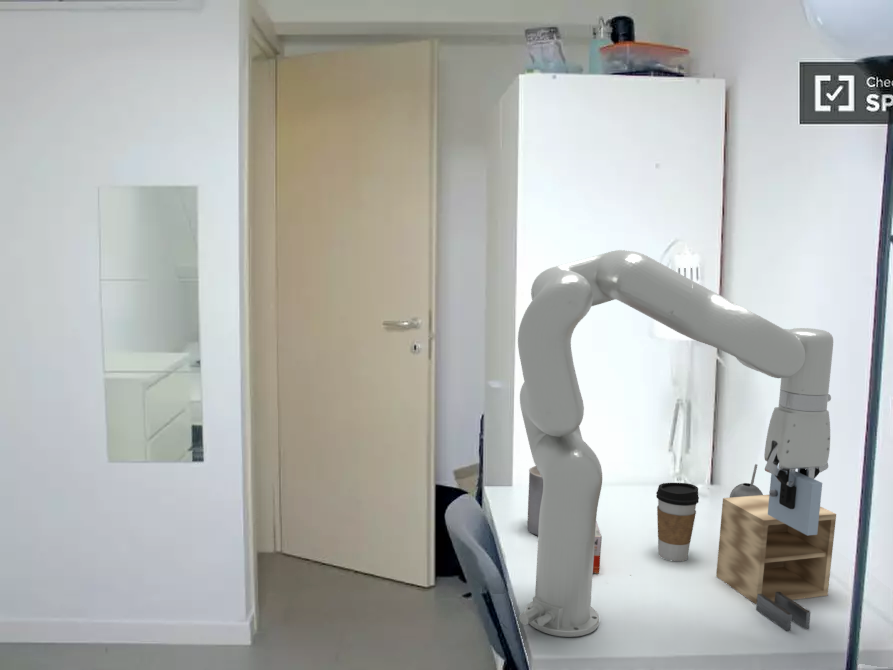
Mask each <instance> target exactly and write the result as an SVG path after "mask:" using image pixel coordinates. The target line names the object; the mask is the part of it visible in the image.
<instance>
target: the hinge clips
mask: <svg viewBox="0 0 893 670" xmlns="http://www.w3.org/2000/svg"><path fill="white" fill-rule="evenodd" d="M755 610H756V611H757V612H759V613H760V614H761V613H762V614H761V615H762V616H764V617H766V618H767V617H768V618H769V619H768V618H767V619H768V620H770V621H771V622H773V624H776V625H777V626H778V627H780V628H781V629H782V630H784V631H785V632H791V631H792V623H793V622H794V623H796V624H797V625H799V626H800V627H801V628H804V630H807V629H810V622H811V613H812V612H811V611H810V610H808V609H807V608H805V607H804V606H802V605H801V604H799V603H797V602H796V601H794V600H791V599H790V598H788V597H787V596H785V595H784V594H782V593H781V592H775V601H774V602H773V601H772V600H770V599H769V598H767V597H766V596H764V595H763V594H758V596H757V604H756V608H755ZM792 621H793V622H792Z"/></svg>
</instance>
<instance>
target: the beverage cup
mask: <svg viewBox="0 0 893 670" xmlns="http://www.w3.org/2000/svg"><path fill="white" fill-rule="evenodd" d="M757 468H758V464H757V463H755V464H754V468H753V472H752V475H751V480H750V483H747V482H744V483H740V484H737V485H736V486H735V487H734V488H732V490H731V491H730V493H729V497H728V498H732V497H745V496H758V495H764V494H763V492H762V490H761V489H760V488H759V487H758V486H757V485H755V483H754V482H755V479H756V478H755V477H756V473H757V470H758V469H757Z"/></svg>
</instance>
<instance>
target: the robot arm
mask: <svg viewBox="0 0 893 670" xmlns="http://www.w3.org/2000/svg"><path fill="white" fill-rule="evenodd" d="M530 291H531V292H530V296H531V297H530V298H531V300H532V301H531V302H530V303H529V304H528V307H527V308H526V309H525V312H524V314H523V316H522V319H521V321H520V324H519V328H518V333H517V347H518V348H517V349H518V356H519V359H520V366H521V371H522V377H523V381H524V382H523V383H522V385H521V388H520V392H519V405H520V411H521V415H522V420H523V423H524V424H523V425H524V428H525V433H526V436H527V441H528V445H529V449H530V453H531V456H532V459H533V463H534V466H536V467H537V469H538V471H539V472H540V474H541V476H542V478H543V494H542V499H541V505H540V514H539V528H538V531H539V533H538V538H537V550H536V551H537V554H536V571H535V572H536V573H535V589H534V590H535V591H534V592H535V593H534V597H532V601H530V602H529V603H528V604H527V605H526V607H525V611H523V612H521V613H520V614H519V616H518V618H519V622H520V623H521V624H522V625H525V626H527V625H530V626H532V628H534V629H536V630H537V631H539V632H542V633H544V634H547V635H551V636H556V637H564V638H565V637H566V638H567V637H568V638H569V637H571V638H574V637H575V638H576V637H581V636H582V637H583V636H586V635H588V634H591V633H592V632H594V631H595V630H596V629H597V628H598V627H599V622H600V617H599V613H598V612H597V610H596V609H595V608H594V607H592V606H591V605H592V604H591V603H592V588H593V587H592V586H593V574H594V573H593V561H594V546H595V528H596V521H597V516H598V515H597V514H598V507H599V502H600V496H601V492H602V487H603V470H602V464H601V462H600V459H599V457H598V456H597V454H596V453H595V451H594V450H593V449H592V448H591V447H590V446H589V445H588V443H586V441H584V439H583V437H582V433H581V432H582V431H581V428H580V425H581V423H582V421H583V419H584V415H585V413H584V412H585V406H584V400H583V397H582V394H581V390H580V386H579V381H578V378H577V374H576V368H575V364H574V359H573V352H572V336H573V334H574V330H575V329H576V327H577V326H578V324H579V323H580V322H581V321H582V320H583V319H584V318H585V316H587V315H588V313H589V311H590V310H591V308H592V307H594V306H599V305H601V304H605V303H607V302H611V301H614V300H616V301H619V302H620V303H623V304H624V305H627V306H628V307H630V308H632V309H634V310H636V311H638V312H639V313H642V314H644V315H646V316H647V317H649V318H651V319H653V320H654V321H656V322H658V323H660V324H662V325H664V326H666V327H667V328H670V329H671V330H673V331H675V332H676V333H679V334H680V335H683V336H685V337H687V338H689V339H691V340H693V341H696V342H699V343H703V344H705V345H708V346H711V347H713V348H715V349H718V350H720V351H722V352H724V353H726V354H728V355H731V356H732V357H734V358H735V359H736V360H737V361H738V362H739V363H740V364H741V365H743V366H745V367H746V368H749V369H751V370H754V371H756V372H760V373H762V374H764V375H766V376H768V377H771V378H775V379H780V386H779V387H780V388H779V397H778V398H779V400H778V406H776V407H774V409H773V411H772V414H771V417H770V420H769V424H768V427H767V428H768V429H767V434H766V438H765V447H764V460H765V462H766V464H765V467H764V471H765V472H767V473H769V474H770V475H771V474H773V475H775V476H776V478H777V479H778V481H779V482H781V487H780V498H779V503H780V504H781V505H783V506H785V507H787V508H789V509H794V507H795V497H796V487H795V486H793V485H794V480H795V471H797V472H799V473H801V474H803V475H805V476H808V477H810V478H812V479H815V480H816V477H817V476H818V475H819V474H820V473H822V472H824V471H826V470H828V468H829V463H828V461H829V458H830V451H831V421H830V420H831V419H830V412H829V410H827V409H828V402H829V403H830V402H831V399H832V396H831V395H830V394H829V392H830V382H831V381H830V380H831V371H832V362H833V353H834V352H833V351H834V337H833V335H832V334H831V333H830V332H829V331H827V330H824V329H818V328H809V327H806V328H805V327H804V328H803V327H799V328H798V327H797V328H796V327H794V328H790V329H789V328H782V327H780V326H779V325H778V324H775V323H773V322H772V321H770V320H767V319H766V318H764V317H762V316H760V315H758V314H756V313H754V312H752V311H750V310H748V309H746V308H744V307H743V306H741V305H738V304H737V303H735V302H733V301H731V300H730V299H727V298H725V297H724V296H722V295H720V294H718V293H717V292H715V291H712V290H711V289H709V288H707V287H705V286H703V285H701V284H699V283H698V282H696V281H693V280H692V279H690V278H688V277H686V276H684V275H682V274H681V273H679V272H677V271H675V270H673V269H672V268H670V267H668V266H666V265H665V264H662V263H661V262H659V261H658V260H655V259H653V258H651V257H650V256H648V255H645V254H643V253H640V252H637V251H633V250H625V249H624V250H622V249H619V250H618V249H616V250H613V251H612V250H611V251H608V252H604V253H601V254H598V255H593V256H590V257H586V258H583V259H579V260H575V261H572V262H567V263H564V264H560V265H556V266H553V267H550V268H547V269H544V270H543V271H541V272H540V273H539V274H538V275H537V276H536V278H535V279H534V280H533V282H532V285H531V289H530ZM778 465H779V469H778V468H777V466H778ZM786 471H787V474H786Z"/></svg>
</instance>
